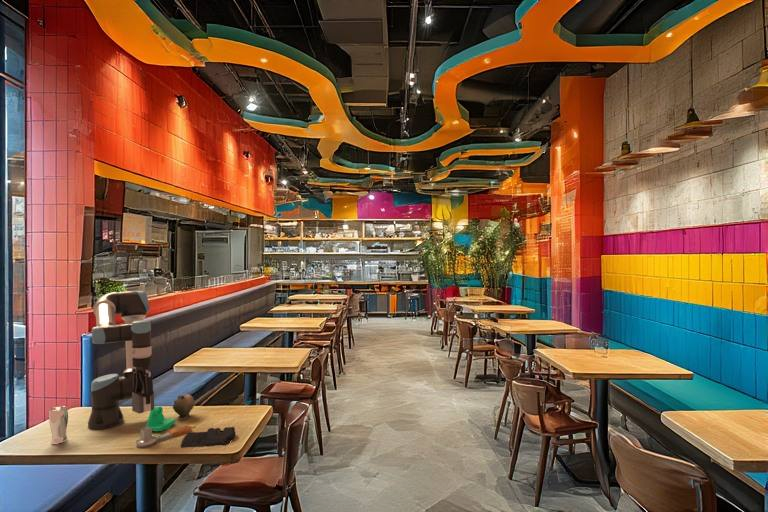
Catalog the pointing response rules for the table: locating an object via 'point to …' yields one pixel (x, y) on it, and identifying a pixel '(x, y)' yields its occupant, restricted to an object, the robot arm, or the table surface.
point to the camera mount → (159, 420)
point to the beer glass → (58, 424)
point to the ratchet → (150, 440)
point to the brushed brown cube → (140, 401)
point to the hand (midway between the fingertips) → (143, 409)
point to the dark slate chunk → (209, 437)
